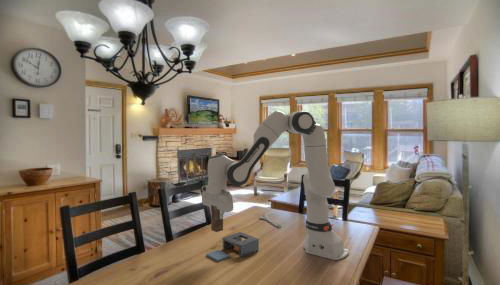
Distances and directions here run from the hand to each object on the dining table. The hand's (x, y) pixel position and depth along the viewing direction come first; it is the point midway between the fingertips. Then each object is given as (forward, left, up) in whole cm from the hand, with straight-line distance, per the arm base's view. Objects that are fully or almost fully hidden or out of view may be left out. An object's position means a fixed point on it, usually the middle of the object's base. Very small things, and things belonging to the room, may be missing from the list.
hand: (217, 217), depth 136 cm
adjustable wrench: (+17, -56, -20) cm, 62 cm away
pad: (0, 0, -19) cm, 19 cm away
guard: (-2, -13, -19) cm, 23 cm away
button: (-2, -13, -19) cm, 23 cm away
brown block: (0, 0, -6) cm, 6 cm away
